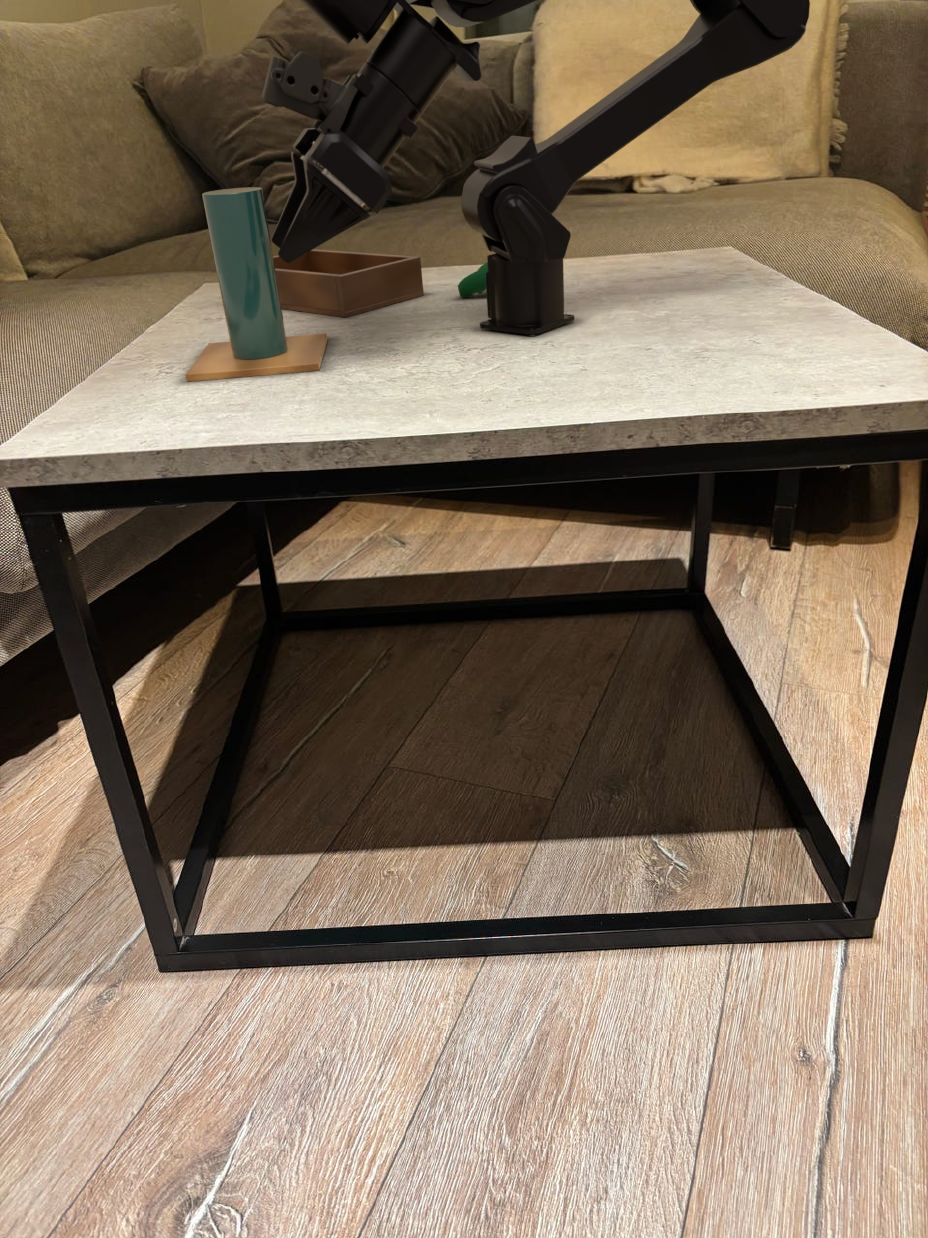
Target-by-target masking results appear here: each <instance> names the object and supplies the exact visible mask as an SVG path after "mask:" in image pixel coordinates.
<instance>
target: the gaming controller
mask: <svg viewBox="0 0 928 1238" xmlns="http://www.w3.org/2000/svg"><path fill="white" fill-rule="evenodd" d="M487 271H488V261H487V262H485V263H484V264H482V265H481V266H480V267H479V268H478V269H477V270H476V271H474V272H472V273H470V274H468V275H467V276H465V277H464V278H462V279H461V280H460V281H459V283H458V284H457V290H458V293H459V296H460V297H461V298H463V299H464V298H465V299H466V298H471V297H474V296H478V295H482V294H486V275H485V274H486V272H487Z"/></svg>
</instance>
